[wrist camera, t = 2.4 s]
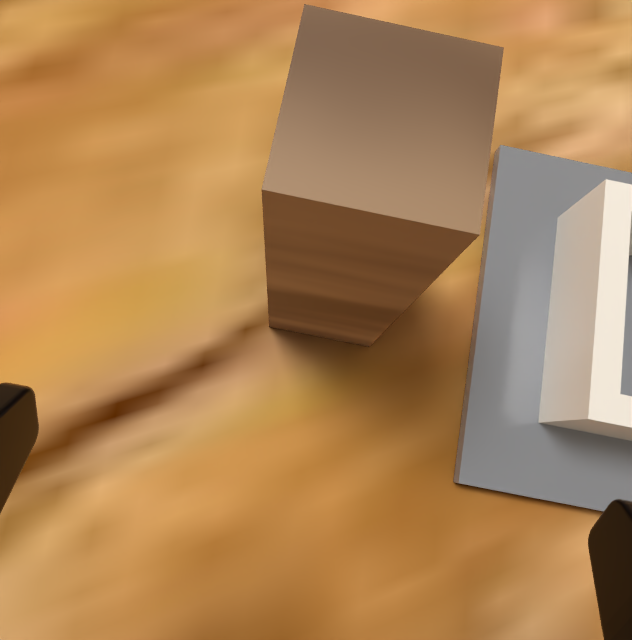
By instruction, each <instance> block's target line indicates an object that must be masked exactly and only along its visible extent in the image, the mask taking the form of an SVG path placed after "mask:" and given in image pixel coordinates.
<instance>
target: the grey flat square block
mask: <svg viewBox="0 0 632 640" xmlns="http://www.w3.org/2000/svg"><path fill="white" fill-rule="evenodd" d="M453 482H455V483H460V484H465V485H470V486H476V487H481V488H486V489H491V490H496V491H501V492H506V493H512V494H517V495H522V496H527V497H532V498H537V499H543V500H548V501H553V502H558V503H563V504H568V505H573V506H579V507H584V508H589V509H594V510H599V511H605V509H606V508H607V506H608V505H609V504H610V503H611V502H612V501H613V500H615V499H623V500H629V501H632V173H630V172H625V171H621V170H616V169H611V168H607V167H602V166H597V165H592V164H588V163H583V162H578V161H574V160H569V159H564V158H560V157H555V156H550V155H545V154H541V153H536V152H531V151H527V150H522V149H517V148H512V147H508V146H503V145H500V146H499V148H498V149H497V150H496V152H495V157H494V164H493V172H492V180H491V188H490V196H489V204H488V212H487V220H486V228H485V236H484V244H483V251H482V259H481V267H480V275H479V283H478V291H477V299H476V307H475V315H474V323H473V331H472V338H471V346H470V354H469V362H468V370H467V378H466V386H465V394H464V402H463V410H462V418H461V425H460V433H459V441H458V449H457V457H456V465H455V473H454V481H453Z"/></svg>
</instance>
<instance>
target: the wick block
mask: <svg viewBox="0 0 632 640" xmlns="http://www.w3.org/2000/svg"><path fill="white" fill-rule="evenodd" d="M503 49H504V48H503V47H499V46H494V45H490V44H485V43H480V42H476V41H471V40H467V39H462V38H457V37H453V36H448V35H444V34H439V33H435V32H430V31H425V30H421V29H416V28H412V27H407V26H402V25H398V24H393V23H389V22H384V21H379V20H375V19H370V18H366V17H361V16H357V15H352V14H347V13H343V12H338V11H334V10H329V9H324V8H320V7H315V6H311V5H306V4H304V9H303V13H302V17H301V22H300V26H299V30H298V35H297V39H296V43H295V48H294V52H293V56H292V61H291V65H290V69H289V74H288V78H287V82H286V87H285V91H284V95H283V100H282V104H281V108H280V113H279V117H278V121H277V126H276V130H275V134H274V139H273V143H272V147H271V152H270V156H269V160H268V165H267V169H266V173H265V178H264V182H263V186H262V203H263V221H264V240H265V258H266V276H267V294H268V313H269V327H273V328H278V329H283V330H288V331H293V332H298V333H303V334H308V335H313V336H318V337H323V338H328V339H333V340H338V341H343V342H348V343H353V344H357V345H362V346H367V347H369V346H370V345H371V344H372V343H373V342H374V341H375V340H376V339H377V338H378V337H379V336H380V335H381V334H382V333H383V332H384V331H385V330H386V329H387V328H388V327H389V326H390V325H391V324H392V323H393V322H394V321H395V320H396V319H397V318H398V317H399V316H400V315H401V314H402V313H403V312H404V311H405V310H406V309H407V308H408V307H409V306H410V305H411V304H412V303H413V302H414V301H415V300H416V299H417V298H418V297H419V296H420V295H421V294H422V293H423V292H424V291H425V290H426V289H427V288H428V287H429V286H430V285H431V284H432V283H433V282H434V281H435V280H436V279H437V277H438V276H439V275H440V274H441V273H442V272H443V271H444V270H445V269H446V268H447V267H448V266H449V265H450V264H451V263H452V262H453V261H454V260H455V259H456V258H457V257H458V256H459V255H460V254H461V253H462V252H463V251H464V250H465V249H466V248H467V247H468V246H469V245H470V244H471V243H472V242H473V241H474V240H475V239H476V238H477V237H478V236H479V235H480V228H481V220H482V213H483V205H484V197H485V189H486V182H487V174H488V166H489V158H490V150H491V143H492V135H493V127H494V119H495V112H496V104H497V96H498V88H499V80H500V73H501V65H502V57H503Z"/></svg>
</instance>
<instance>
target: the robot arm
mask: <svg viewBox="0 0 632 640" xmlns="http://www.w3.org/2000/svg"><path fill="white" fill-rule="evenodd" d="M38 430H39V424H38V416H37V408H36V400H35V394H34V391H33V390H32V388H30V387H28V386H23V385H18V384H12V383H1V384H0V513H1V511H2V509H3V507H4V505H5V503H6V501H7V499H8V497H9V495H10V493H11V491H12V489H13V487H14V485H15V483H16V481H17V479H18V477H19V475H20V472H21V470H22V468H23V466H24V464H25V462H26V460H27V458H28V456H29V454H30V452H31V450H32V448H33V446H34V444H35V442H36V439H37V436H38ZM588 547H589V554H590V560H591V566H592V572H593V578H594V584H595V590H596V596H597V602H598V608H599V614H600V620H601V626H602V631H603V636H604V640H632V501H629V500H623V499H615V500H613V501H612V502H611V503H610V504H609V505H608V506H607V508H606V509H605V511H604V512H603V513H602V515H601V516H600V518H599V519H598V520H597V522H596V523H595V525H594V526H593V527H592V529H591V531H590V534H589V538H588Z"/></svg>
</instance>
